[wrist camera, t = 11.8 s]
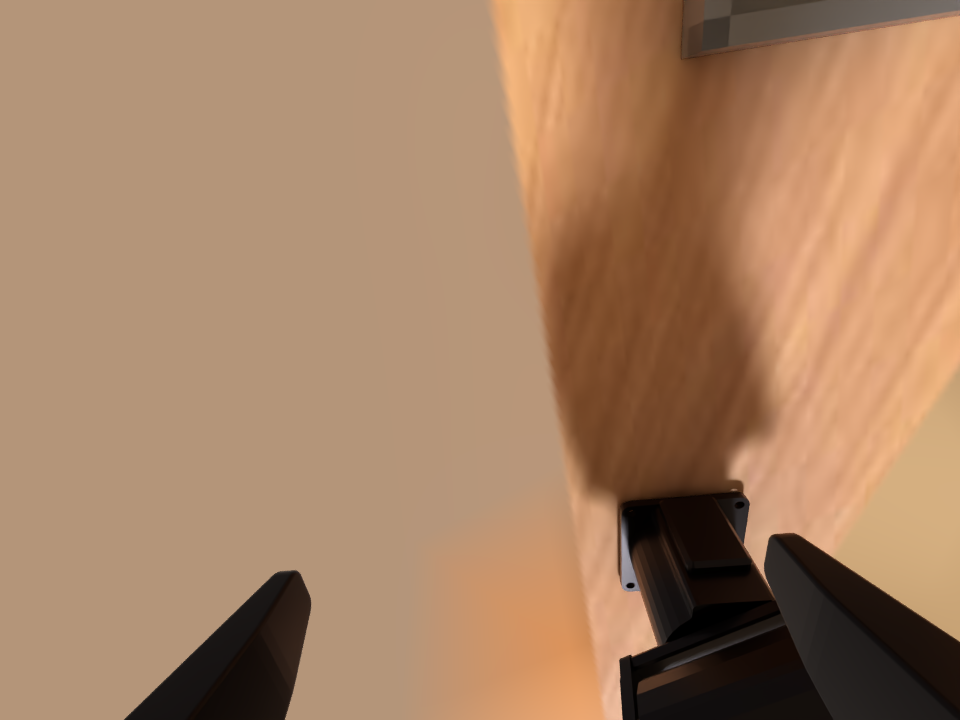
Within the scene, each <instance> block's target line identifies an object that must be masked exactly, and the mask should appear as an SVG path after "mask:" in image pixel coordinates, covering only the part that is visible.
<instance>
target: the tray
mask: <svg viewBox="0 0 960 720" xmlns="http://www.w3.org/2000/svg"><path fill="white" fill-rule="evenodd" d="M959 15H960V0H684V4H683V26H682V49H681V59H686V58H692V57H698V56H705V55H711V54H718V53H724V52H730V51H737V50H743V49H749V48H756V47H762V46H768V45H775V44H781V43H787V42H794V41H800V40H807V39H813V38H819V37H826V36H832V35H838V34H845V33H851V32H857V31H864V30H870V29H877V28H883V27H889V26H896V25H902V24H908V23H915V22H921V21H927V20H934V19H940V18H947V17H953V16H959Z"/></svg>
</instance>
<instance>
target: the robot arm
mask: <svg viewBox="0 0 960 720" xmlns="http://www.w3.org/2000/svg"><path fill="white" fill-rule="evenodd" d="M739 501H740V502H739ZM737 502H738V503H737ZM749 505H750V503H749V500H748V499H747V498H746V496H745V495H744V494H743V493H740V492H735V493H722V494H710V495H698V496H686V497H674V498H661V499H649V500H637V501H628V502H625V503H623V504H622V505H621V506H620V582H621V585H622V588H623V589H624V590H625V591H640V592H641V595H642V598H643V601H644V604H645V607H646V610H647V613H648V617H649V620H650V623H651V626H652V629H653V632H654V635H655V639H656V642H657V645H658V646H657V647H654V648H652V649H649V650H647V651H645V652H642V653H640V654H637V655H635V656H631V655H628V656H626V657H623V658H621V659H620V660H619V661H620V676H621V678H620V687H621V701H622V716H623V720H960V642H959V641H958V640H956V639H955V638H953V637H952V636H950V635H949V634H947V633H946V632H944V631H943V630H941V629H940V628H938V627H937V626H935V625H934V624H932V623H931V622H929V621H928V620H926V619H925V618H923V617H922V616H920V615H919V614H917V613H916V612H914V611H913V610H911V609H910V608H908V607H907V606H905V605H904V604H902V603H901V602H899V601H898V600H896V599H894V598H893V597H891V596H890V595H889V594H887V593H886V592H884V591H882V590H881V589H880V588H878V587H876V586H875V585H873V584H872V583H870V582H869V581H867V580H866V579H864V578H863V577H861V576H860V575H858V574H857V573H855V572H854V571H852V570H851V569H849V568H848V567H846V566H845V565H843V564H842V563H840V562H839V561H837V560H836V559H834V558H833V557H831V556H830V555H828V554H827V553H825V552H824V551H822V550H821V549H819V548H818V547H816V546H815V545H813V544H812V543H810V542H809V541H807V540H806V539H804V538H803V537H801V536H799V535H797V534H795V533H783V534H773V535H771V536H770V538H769V540H768V546H767V551H766V557H765V562H764V571H765V576H766V579H767V581H768V584H769V586H770V588H771V589H770V588H769V586H768V584H767V583H766V581H765V579H764V578H763V576H762V574H761V573H760V571H759V569H758V568H757V566H756V564H755V563H754V561H753V559H752V558H751V556H750V555H749V553H748V551H747V550H746V548H745V546H744V538H745V532H746V525H747V518H748V512H749ZM630 510H633V511H631V512H628V511H630ZM771 590H772V591H771ZM310 611H311V598H310V595H309V593H308V590H307V588H306V586H305V584H304V581H303V579H302V577H301V574H300V573H299V572H298V571H295V570H292V571H280V572H277V573H275V574H274V575H273V576H272V577H271V578H270V579H269V580H268V581H267V582H266V583H264V584H263V585H262V586H261V588H259V589H258V590H257V591H256V592H255V593H254V594H253V595H252V596H251V597H250V598H249V599H248V600H247V601H246V602H245V603H244V604H243V605H242V606H241V607H240V608H239V609H238V610H237V611H236V612H235V613H234V614H233V615H231V616H230V617H229V618H228V620H226V621H225V622H224V623H223V624H222V625H221V626H220V627H219V628H218V629H217V630H216V631H215V632H214V633H213V634H212V635H211V636H210V637H209V638H208V639H207V640H206V641H205V642H204V643H203V644H202V645H201V646H200V647H198V649H196V650H195V651H194V652H193V653H192V654H191V655H190V656H189V657H188V658H187V659H186V660H185V661H184V662H183V663H182V664H181V665H180V666H179V667H178V668H177V669H176V670H175V671H174V672H173V673H172V674H171V675H170V676H169V677H168V678H166V680H164V681H163V682H162V683H161V684H160V685H159V686H158V687H157V688H156V689H155V690H154V691H153V692H152V693H151V694H150V695H149V696H148V697H147V698H146V699H145V700H144V701H143V702H142V703H141V704H140V705H139V706H138V707H137V708H135V709H134V711H133V712H131V713H130V714H129V715H128V716H127V717H126V718H125V719H124V720H285V717H286V714H287V711H288V707H289V704H290V700H291V697H292V694H293V689H294V685H295V681H296V677H297V672H298V667H299V662H300V657H301V653H302V648H303V644H304V639H305V634H306V629H307V625H308V620H309V616H310Z"/></svg>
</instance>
